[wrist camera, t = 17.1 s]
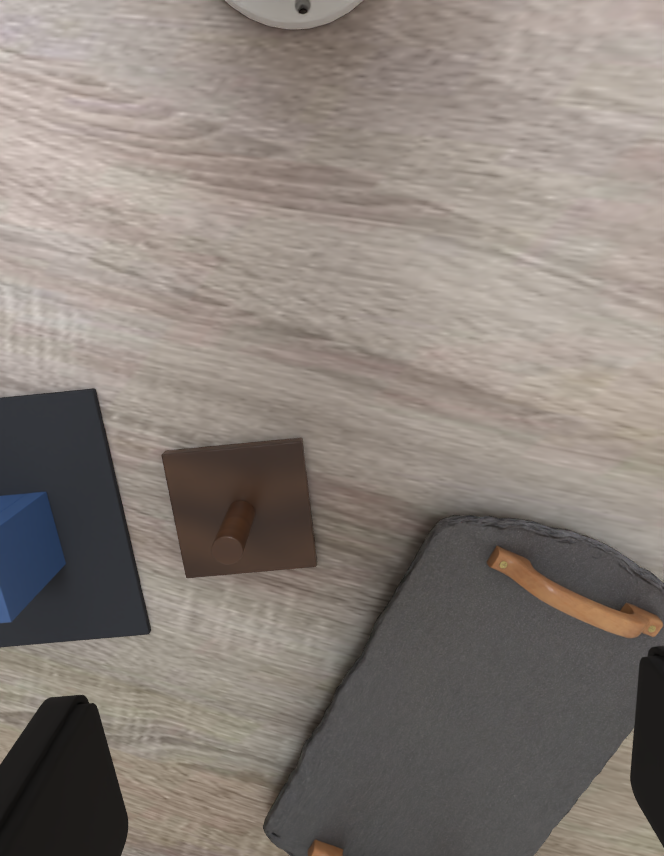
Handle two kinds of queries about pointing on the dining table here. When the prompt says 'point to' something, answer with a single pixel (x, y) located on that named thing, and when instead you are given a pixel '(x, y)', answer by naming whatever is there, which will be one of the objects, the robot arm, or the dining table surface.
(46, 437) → the mat
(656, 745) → the robot arm
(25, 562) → the block
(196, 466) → the dowel stand
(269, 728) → the dining table surface
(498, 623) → the serving tray
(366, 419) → the dining table surface
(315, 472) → the dining table surface
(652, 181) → the dining table surface
